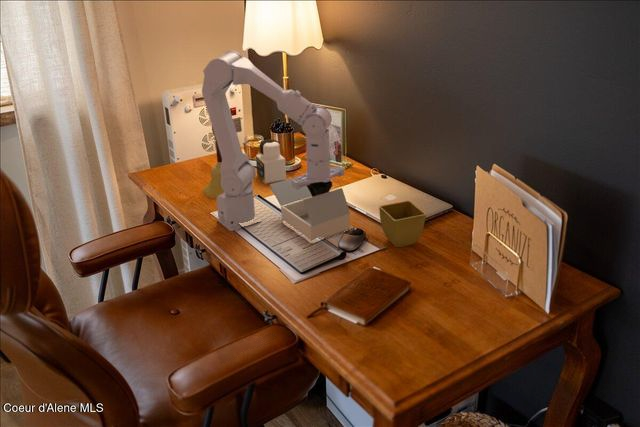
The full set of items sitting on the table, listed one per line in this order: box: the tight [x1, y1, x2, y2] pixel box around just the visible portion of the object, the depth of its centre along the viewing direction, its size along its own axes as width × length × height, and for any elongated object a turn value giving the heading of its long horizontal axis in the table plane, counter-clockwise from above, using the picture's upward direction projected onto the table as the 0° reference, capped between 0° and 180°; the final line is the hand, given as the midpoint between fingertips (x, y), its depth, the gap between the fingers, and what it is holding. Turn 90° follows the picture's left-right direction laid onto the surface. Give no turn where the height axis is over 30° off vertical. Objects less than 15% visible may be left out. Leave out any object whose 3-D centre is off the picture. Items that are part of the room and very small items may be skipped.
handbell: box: [202, 126, 224, 199], centre depth 172 cm, size 12×12×25 cm
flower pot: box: [378, 200, 427, 248], centre depth 146 cm, size 9×9×9 cm
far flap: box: [269, 174, 312, 207], centre depth 160 cm, size 12×7×1 cm
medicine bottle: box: [255, 139, 287, 185], centre depth 182 cm, size 7×7×12 cm
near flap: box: [302, 187, 351, 226], centre depth 148 cm, size 12×7×1 cm
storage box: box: [280, 197, 351, 241], centre depth 155 cm, size 12×14×5 cm
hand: (319, 207), depth 151 cm, fingers closed, pressing on near flap
